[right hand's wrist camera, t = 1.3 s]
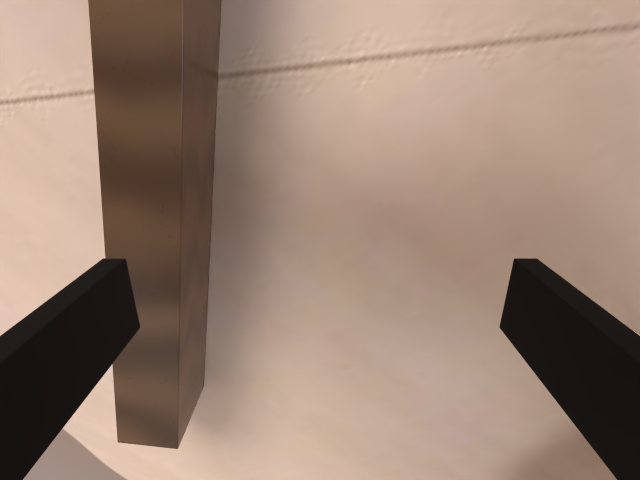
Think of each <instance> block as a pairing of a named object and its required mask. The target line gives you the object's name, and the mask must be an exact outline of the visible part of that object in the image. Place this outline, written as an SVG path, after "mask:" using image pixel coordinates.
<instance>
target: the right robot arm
mask: <svg viewBox="0 0 640 480" xmlns="http://www.w3.org/2000/svg"><path fill="white" fill-rule="evenodd" d="M139 329H140V323H139V318H138V313H137V309H136V304H135V299H134V295H133V290H132V285H131V280H130V276H129V271H128V266H127V262H126V259H102V260H101V261H99V262H98V263H97V264H95V265H94V266H93V267H91V268H90V269H89V270H87V271H86V272H85V273H83V274H82V275H81V276H79V277H78V278H77V279H76V280H74V281H73V282H72V283H70V284H69V285H68V286H66V287H65V288H64V289H62V290H61V291H60V292H58V293H57V294H56V295H54V296H53V297H52V298H50V299H49V300H48V301H46V302H45V303H44V304H42V305H41V306H40V307H38V308H37V309H36V310H34V311H33V312H32V313H30V314H29V315H28V316H26V317H25V318H24V319H22V320H21V321H20V322H18V323H17V324H16V325H14V326H13V327H12V328H10V329H9V330H8V331H6V332H5V333H4V334H2V335H1V336H0V480H23V479H24V477H25V476H26V475H27V473H28V472H29V471H30V470H31V468H32V467H33V466H34V464H35V463H36V462H37V461H38V459H39V458H40V457H41V455H42V454H43V453H44V451H45V450H46V449H47V448H48V446H49V445H50V444H51V442H52V441H53V440H54V439H55V437H56V436H57V435H58V433H59V432H60V431H61V429H62V428H63V427H64V426H65V424H66V423H67V422H68V420H69V419H70V418H71V417H72V415H73V414H74V413H75V411H76V410H77V409H78V408H79V406H80V405H81V404H82V402H83V401H84V400H85V398H86V397H87V396H88V395H89V393H90V392H91V391H92V389H93V388H94V387H95V386H96V384H97V383H98V382H99V380H100V379H101V378H102V376H103V375H104V374H105V373H106V371H107V370H108V369H109V367H110V366H111V365H112V364H113V362H114V361H115V360H116V358H117V357H118V356H119V355H120V353H121V352H122V351H123V349H124V348H125V347H126V345H127V344H128V343H129V342H130V340H131V339H132V338H133V336H134V335H135V334H136V333H137V331H138V330H139ZM500 329H501V330H502V331H503V333H504V334H505V335H506V336H507V338H508V339H509V340H510V342H511V343H512V344H513V345H514V347H515V348H516V349H517V351H518V352H519V353H520V355H521V356H522V357H523V358H524V360H525V361H526V362H527V364H528V365H529V366H530V367H531V369H532V370H533V371H534V373H535V374H536V375H537V376H538V378H539V379H540V380H541V382H542V383H543V384H544V386H545V387H546V388H547V389H548V391H549V392H550V393H551V395H552V396H553V397H554V398H555V400H556V401H557V402H558V404H559V405H560V406H561V408H562V409H563V410H564V411H565V413H566V414H567V415H568V417H569V418H570V419H571V420H572V422H573V423H574V424H575V426H576V427H577V428H578V429H579V431H580V432H581V433H582V435H583V436H584V437H585V439H586V440H587V441H588V442H589V444H590V445H591V446H592V448H593V449H594V450H595V451H596V453H597V454H598V455H599V457H600V458H601V459H602V461H603V462H604V463H605V464H606V466H607V467H608V468H609V470H610V471H611V472H612V473H613V475H614V476H615V477H616V479H617V480H640V336H639V335H638V334H636V333H635V332H634V331H632V330H631V329H630V328H628V327H627V326H626V325H624V324H623V323H622V322H620V321H619V320H618V319H616V318H615V317H614V316H612V315H611V314H610V313H608V312H607V311H606V310H604V309H603V308H602V307H600V306H599V305H598V304H596V303H595V302H594V301H592V300H591V299H590V298H588V297H587V296H586V295H584V294H583V293H582V292H580V291H579V290H578V289H576V288H575V287H574V286H572V285H571V284H570V283H568V282H567V281H566V280H564V279H563V278H562V277H561V276H559V275H558V274H557V273H555V272H554V271H553V270H551V269H550V268H549V267H547V266H546V265H545V264H543V263H542V262H541V261H539V260H538V259H514V262H513V266H512V271H511V276H510V280H509V285H508V290H507V295H506V299H505V304H504V309H503V313H502V318H501V323H500Z"/></svg>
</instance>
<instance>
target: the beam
mask: <svg viewBox="0 0 640 480" xmlns="http://www.w3.org/2000/svg"><path fill="white" fill-rule="evenodd" d="M88 1H89V16H90V31H91V46H92V61H93V76H94V91H95V106H96V121H97V136H98V151H99V166H100V181H101V196H102V211H103V226H104V241H105V256H106V259H126V262H127V266H128V271H129V276H130V280H131V285H132V290H133V295H134V299H135V304H136V309H137V313H138V318H139V323H140V329H139V330H138V331H137V333H136V334H135V335H134V336H133V338H132V339H131V340H130V342H129V343H128V344H127V345H126V347H125V348H124V349H123V351H122V352H121V353H120V355H119V356H118V357H117V358H116V360H115V361H114V362H113V377H114V392H115V407H116V422H117V437H118V442H120V443H129V444H138V445H147V446H156V447H165V448H174V449H178V447H179V445H180V443H181V440H182V438H183V435H184V433H185V430H186V428H187V426H188V423H189V421H190V418H191V416H192V413H193V411H194V409H195V406H196V404H197V401H198V399H199V396H200V394H201V392H202V389H203V387H204V368H205V346H206V324H207V302H208V279H209V257H210V235H211V213H212V190H213V168H214V146H215V124H216V101H217V79H218V57H219V35H220V13H221V0H88Z"/></svg>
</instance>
